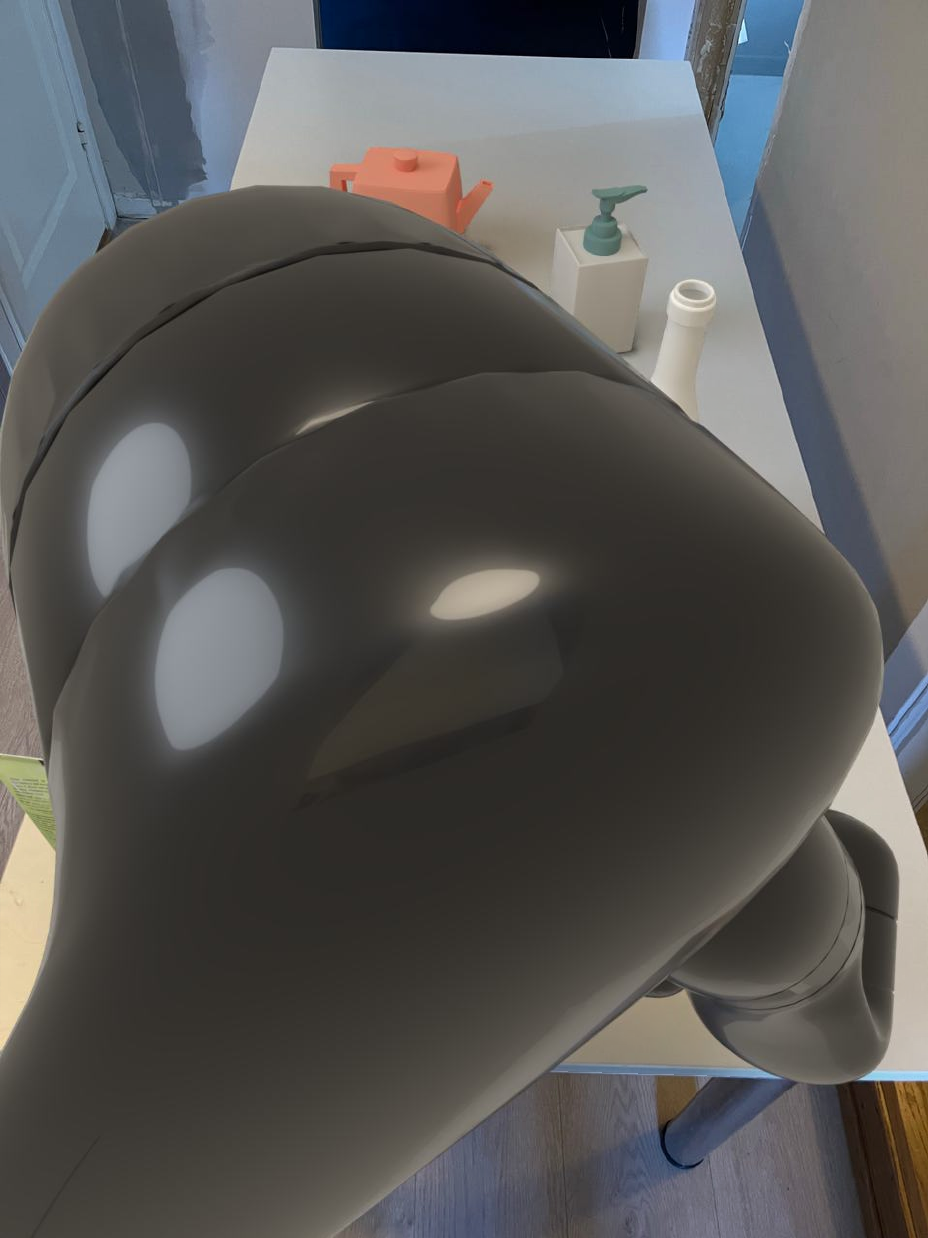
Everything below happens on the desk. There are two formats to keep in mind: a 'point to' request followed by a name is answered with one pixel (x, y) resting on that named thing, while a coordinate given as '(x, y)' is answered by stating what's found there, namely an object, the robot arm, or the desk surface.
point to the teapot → (415, 183)
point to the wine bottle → (684, 342)
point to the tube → (30, 791)
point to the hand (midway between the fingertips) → (363, 882)
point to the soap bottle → (601, 272)
